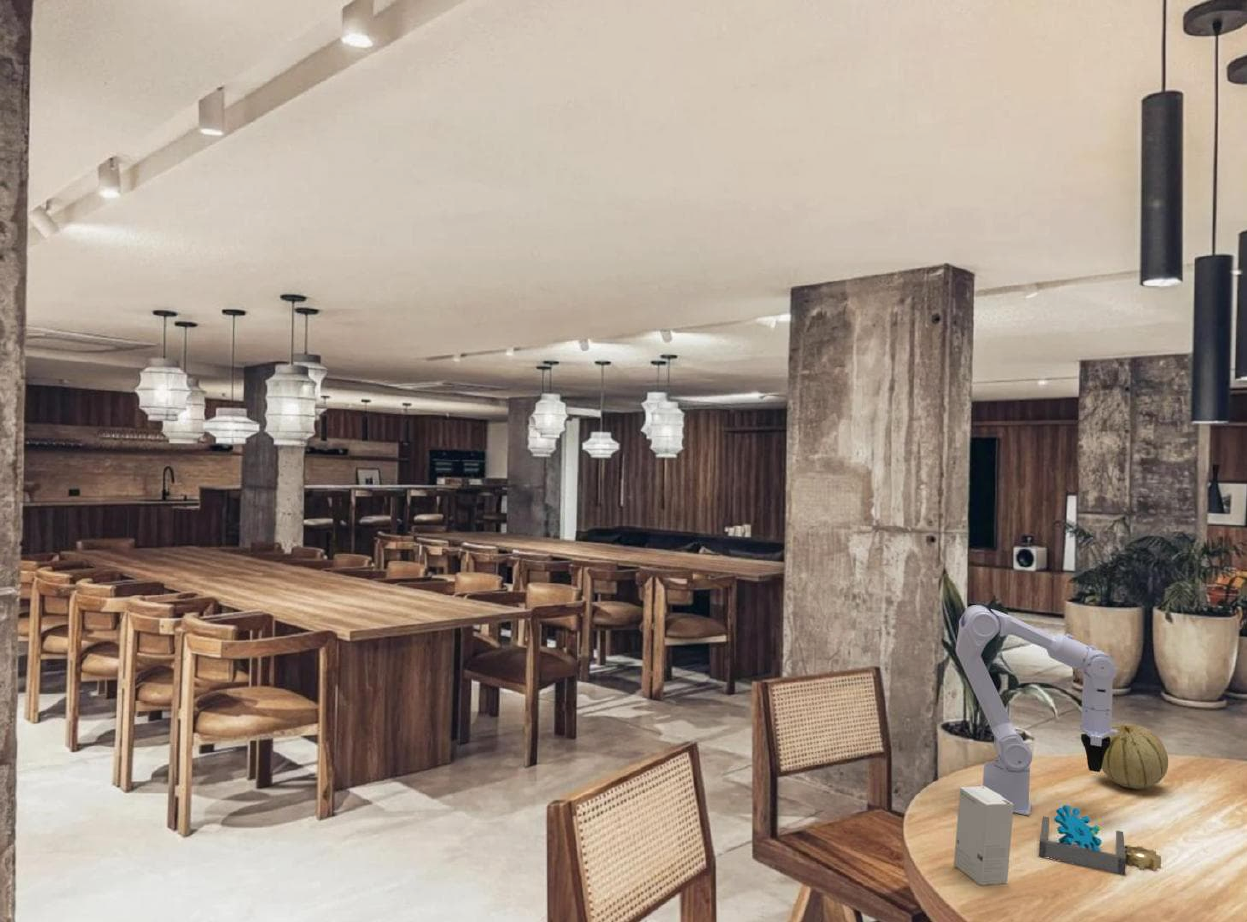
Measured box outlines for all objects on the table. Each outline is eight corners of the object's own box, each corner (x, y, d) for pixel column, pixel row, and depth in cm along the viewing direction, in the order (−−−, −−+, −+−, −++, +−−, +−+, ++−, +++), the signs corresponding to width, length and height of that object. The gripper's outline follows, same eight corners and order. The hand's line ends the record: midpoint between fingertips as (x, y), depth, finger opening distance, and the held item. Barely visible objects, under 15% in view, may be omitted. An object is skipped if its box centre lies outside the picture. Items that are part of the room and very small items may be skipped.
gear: (1075, 853, 168) (1050, 802, 175) (1054, 866, 172) (1030, 815, 179) (1117, 854, 172) (1091, 804, 179) (1095, 866, 176) (1070, 817, 183)
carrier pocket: (1038, 856, 170) (1039, 841, 170) (1042, 830, 183) (1042, 815, 183) (1163, 883, 161) (1164, 867, 161) (1158, 854, 173) (1158, 838, 173)
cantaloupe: (1167, 784, 213) (1170, 722, 213) (1166, 803, 200) (1168, 737, 200) (1097, 771, 221) (1100, 711, 221) (1092, 788, 208) (1094, 724, 208)
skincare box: (953, 866, 165) (956, 786, 165) (981, 863, 166) (984, 784, 166) (982, 887, 157) (985, 803, 157) (1011, 884, 158) (1014, 801, 158)
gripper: (1119, 718, 183) (1116, 784, 183) (1117, 702, 196) (1114, 764, 196) (1080, 713, 186) (1078, 777, 186) (1081, 697, 199) (1078, 758, 199)
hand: (1094, 770), depth 191 cm, fingers closed
